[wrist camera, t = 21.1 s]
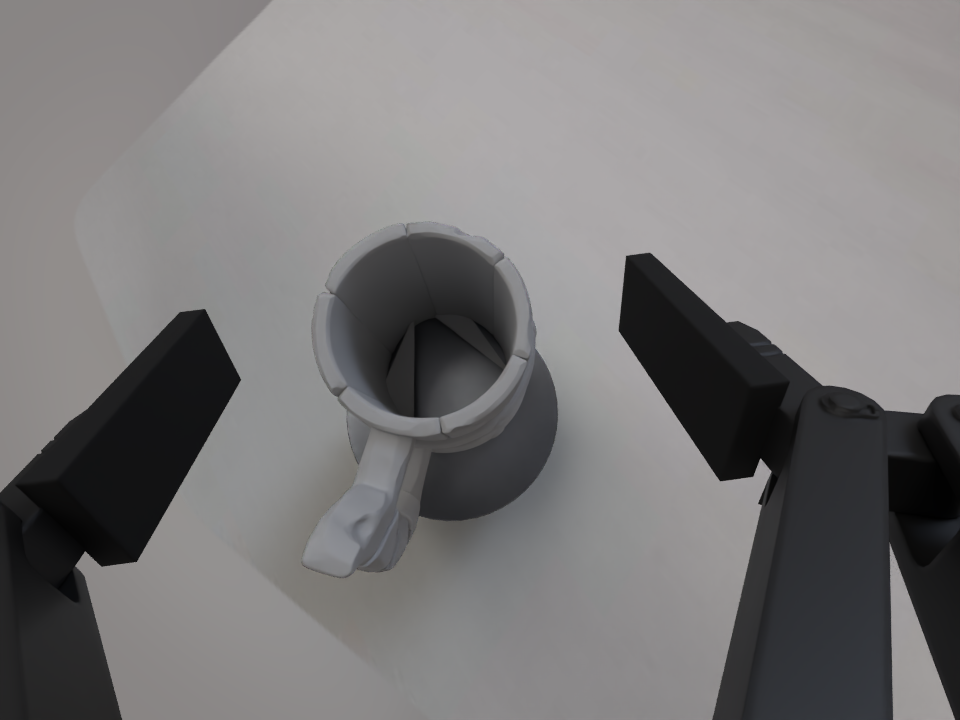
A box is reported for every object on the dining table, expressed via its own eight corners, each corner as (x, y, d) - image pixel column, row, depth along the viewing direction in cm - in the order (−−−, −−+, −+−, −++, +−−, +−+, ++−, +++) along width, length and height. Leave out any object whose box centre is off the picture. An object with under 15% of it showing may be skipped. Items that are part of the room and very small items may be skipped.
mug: (541, 321, 23) (606, 193, 11) (478, 558, 21) (475, 718, 9) (398, 282, 23) (310, 118, 11) (323, 512, 21) (122, 606, 9)
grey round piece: (349, 399, 29) (306, 385, 22) (477, 310, 30) (476, 270, 23) (439, 534, 28) (424, 567, 21) (571, 436, 29) (600, 435, 22)
